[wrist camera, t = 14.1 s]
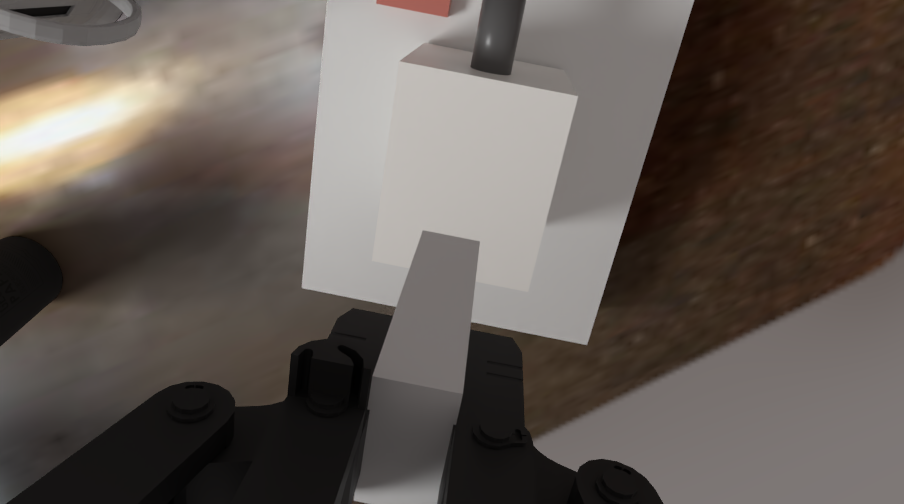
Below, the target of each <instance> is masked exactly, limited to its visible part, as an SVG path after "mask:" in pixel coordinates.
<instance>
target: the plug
mask: <svg viewBox="0 0 904 504" xmlns="http://www.w3.org/2000/svg"><path fill="white" fill-rule="evenodd" d="M525 4H526V0H482V6H481V11H480V17H479V22H478V27H477V33H476V38H475V44H474V49H473V52H469V51H464V50H459V49H454V48H449V47H444V46H439V45H434V44H429V43H423V44H422V45H421V46H419V47H418V48H416V49H415V50H414V51H412V52H411V53H410V54H408V55H407V56H406V57H404V58H403V59H401V60H400V61H399V66H398V73H397V81H396V88H395V95H394V103H393V110H392V117H391V124H390V132H389V139H388V146H387V153H386V161H385V168H384V175H383V183H382V190H381V197H380V204H379V212H378V219H377V226H376V234H375V241H374V248H373V255H372V261H375V262H380V263H385V264H390V265H395V266H400V267H405V268H410V266H411V263H412V260H413V257H414V254H415V251H416V249H417V246H418V243H419V240H420V237H421V234H422V231H423V230H425V231H430V232H435V233H440V234H445V235H450V236H455V237H461V238H466V239H471V240H476V241H480V246H479V255H478V263H477V272H476V281H475V282H480V283H485V284H490V285H495V286H500V287H505V288H510V289H515V290H520V291H525V292H528V291H529V287H530V283H531V279H532V275H533V271H534V267H535V263H536V259H537V255H538V251H539V248H540V244H541V240H542V236H543V232H544V228H545V224H546V220H547V216H548V212H549V208H550V205H551V201H552V197H553V193H554V189H555V185H556V181H557V177H558V173H559V169H560V165H561V162H562V158H563V154H564V150H565V146H566V142H567V138H568V134H569V130H570V126H571V122H572V119H573V115H574V111H575V107H576V103H577V99H578V95H577V93H576V91H575V89H574V88H573V86H572V84H571V82H570V80H569V78H568V77H567V75H566V73H565V71H564V70H562V69H557V68H551V67H546V66H541V65H536V64H531V63H526V62H521V61H516V60H514V57H515V52H516V47H517V43H518V38H519V33H520V28H521V23H522V19H523V14H524V9H525Z"/></svg>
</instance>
